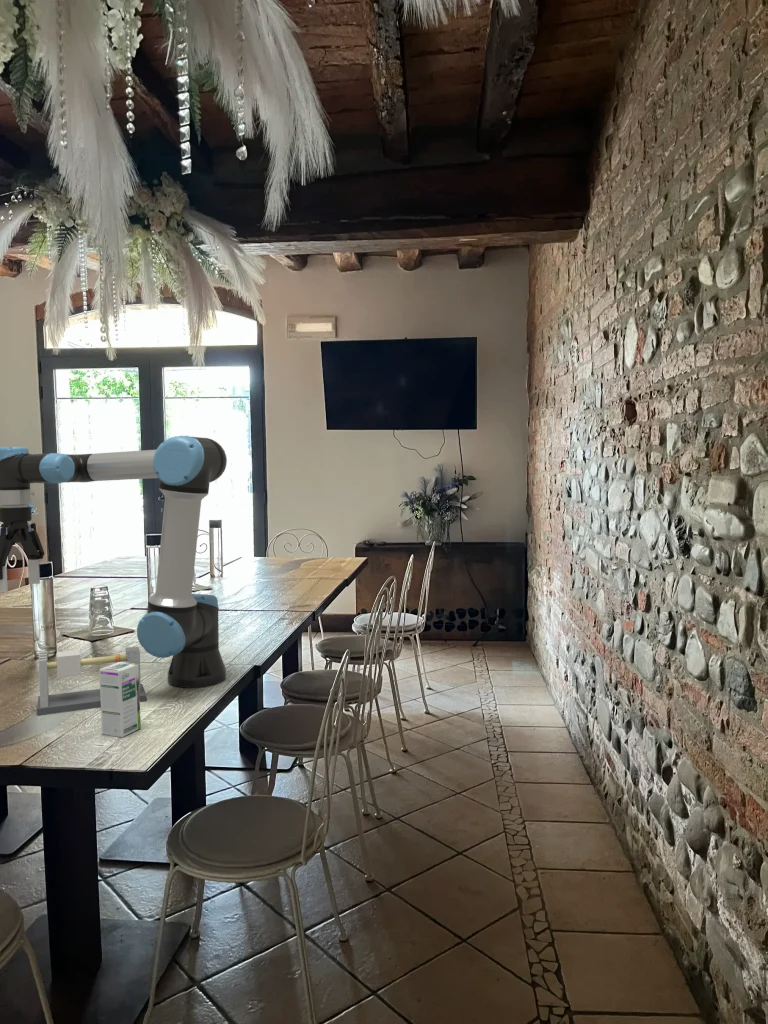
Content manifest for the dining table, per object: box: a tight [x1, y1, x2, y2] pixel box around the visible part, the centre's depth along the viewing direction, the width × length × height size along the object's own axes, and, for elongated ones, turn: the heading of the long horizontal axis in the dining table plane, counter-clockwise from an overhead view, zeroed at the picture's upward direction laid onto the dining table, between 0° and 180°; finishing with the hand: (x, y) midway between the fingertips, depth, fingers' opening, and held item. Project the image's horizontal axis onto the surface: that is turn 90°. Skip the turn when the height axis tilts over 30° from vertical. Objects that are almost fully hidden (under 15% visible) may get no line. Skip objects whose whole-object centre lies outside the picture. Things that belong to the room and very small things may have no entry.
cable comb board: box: [36, 646, 147, 716], centre depth 172 cm, size 24×10×12 cm, turn 114°
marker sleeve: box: [56, 649, 82, 679], centre depth 170 cm, size 5×5×5 cm
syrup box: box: [98, 661, 142, 738], centre depth 152 cm, size 6×6×14 cm
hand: (18, 587), depth 185 cm, fingers open, 13 cm apart
